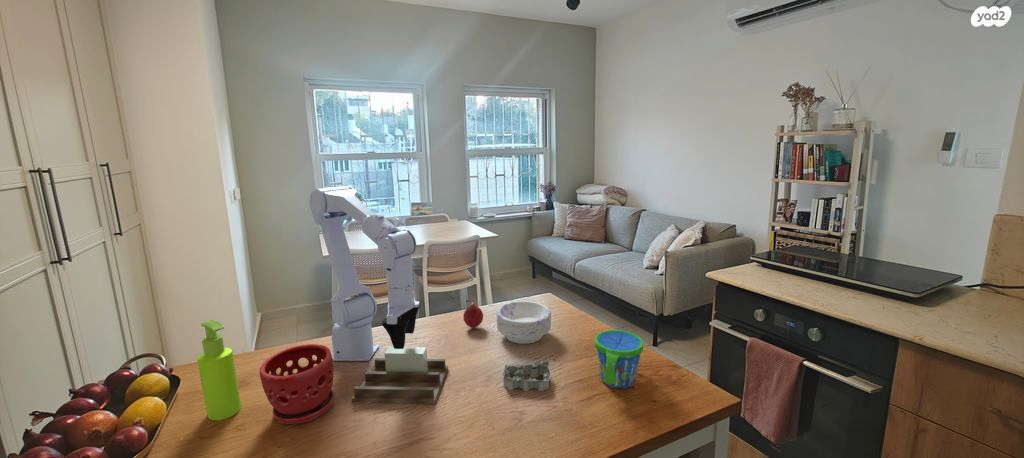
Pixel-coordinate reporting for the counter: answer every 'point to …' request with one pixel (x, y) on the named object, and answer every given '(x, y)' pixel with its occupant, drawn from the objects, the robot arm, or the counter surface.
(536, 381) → the egg carton
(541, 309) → the paper bowls
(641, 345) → the snack cup
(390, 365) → the pale green block
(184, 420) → the counter surface
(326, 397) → the plant pot
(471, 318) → the onion
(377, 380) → the rack
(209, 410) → the soap dispenser
